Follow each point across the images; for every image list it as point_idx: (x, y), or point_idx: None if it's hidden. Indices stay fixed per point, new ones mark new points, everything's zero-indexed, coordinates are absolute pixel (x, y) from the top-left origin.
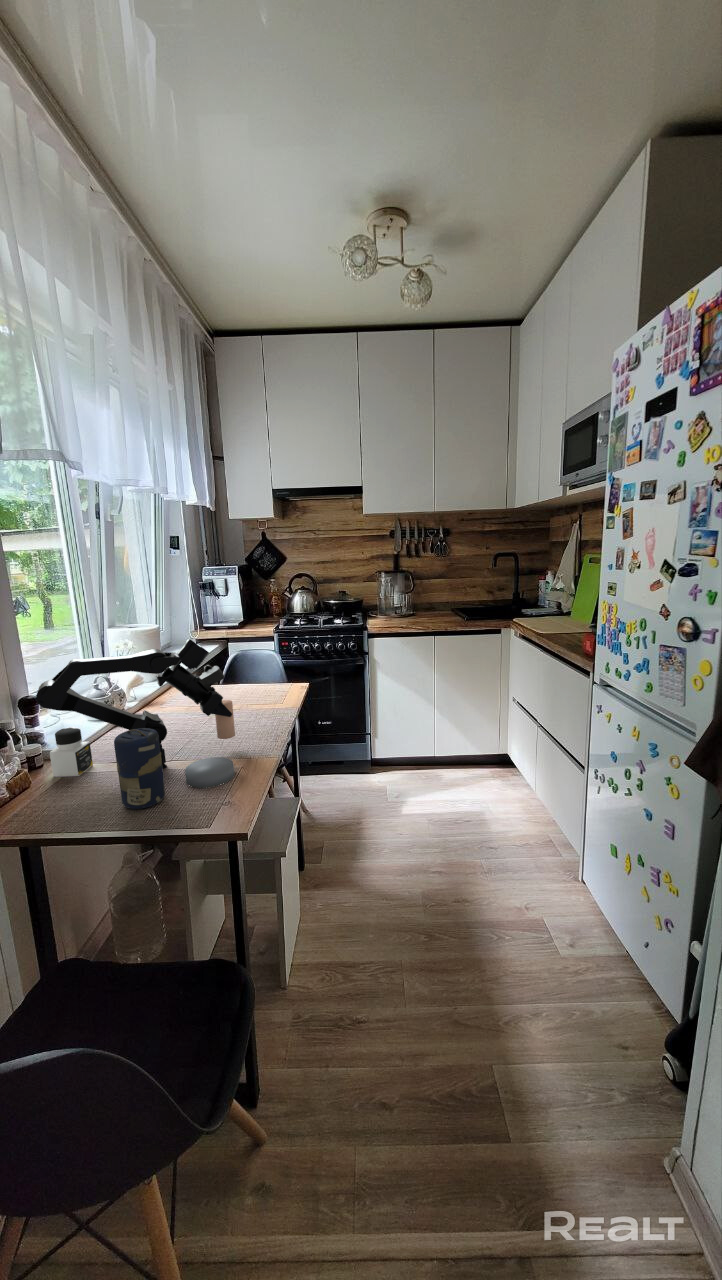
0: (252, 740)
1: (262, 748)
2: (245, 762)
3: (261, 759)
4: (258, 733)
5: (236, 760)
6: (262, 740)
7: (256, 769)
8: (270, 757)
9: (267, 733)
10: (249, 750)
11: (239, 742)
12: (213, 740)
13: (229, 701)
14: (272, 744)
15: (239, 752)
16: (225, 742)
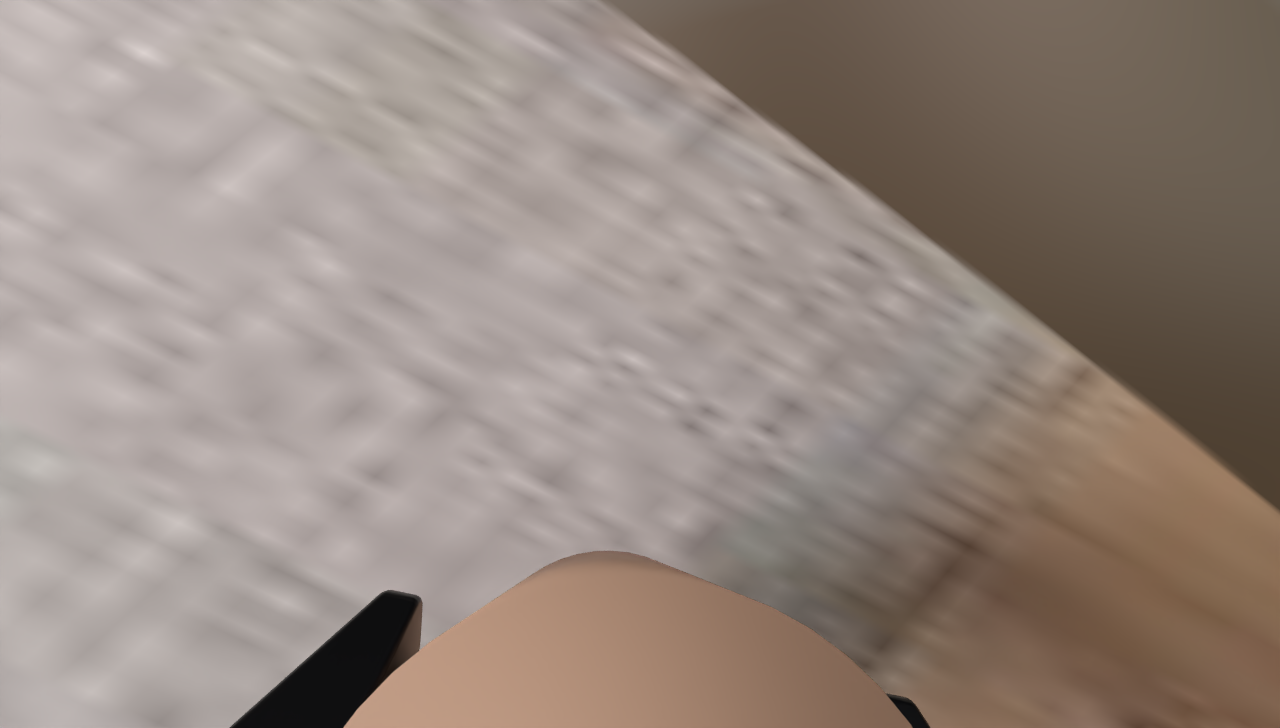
0: (502, 280)
1: (801, 318)
2: (1036, 642)
3: (1070, 473)
4: (354, 127)
5: (920, 694)
6: (588, 203)
7: (1276, 639)
8: (1081, 379)
9: (436, 61)
10: (754, 448)
11: (442, 418)
12: (114, 629)
13: (674, 680)
14: (773, 187)
15: (728, 561)
16: (306, 543)
